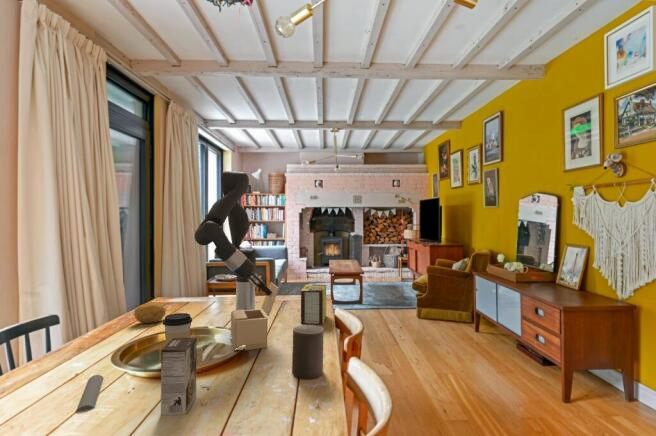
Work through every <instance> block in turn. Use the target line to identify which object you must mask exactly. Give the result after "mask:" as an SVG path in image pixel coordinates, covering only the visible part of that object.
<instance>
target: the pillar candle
mask: <svg viewBox="0 0 656 436" xmlns="http://www.w3.org/2000/svg"><path fill="white" fill-rule="evenodd" d="M324 333H325V332H324V327H322V326H318V325H316V324H301V325H298V326H295V327H293V329H292V358H291V359H292V361H291V372H292V373H291V374H292V375H293V377H294V378H298V379H301V380H312V379H318V378H319V377H322V375H323V373H324Z"/></svg>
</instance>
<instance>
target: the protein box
mask: <svg viewBox="0 0 656 436" xmlns="http://www.w3.org/2000/svg"><path fill="white" fill-rule="evenodd" d="M326 317H327V285H326V284H305V285H304V287H302V288H301V290H300V324H301V325H323V324H324V322H325V319H326Z"/></svg>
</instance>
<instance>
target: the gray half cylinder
mask: <svg viewBox="0 0 656 436" xmlns="http://www.w3.org/2000/svg"><path fill="white" fill-rule="evenodd" d="M103 381H104V377H103V375H100V374H94V375H92V376H90V378H88V380H87V382H86V385H85V388H84V390H83V391H82V392H83V393H82V395H81V397H80V400H79V403H78V405H77V407H76V411H75V412H82V411H86V410H87V411H88V410H92V409H95V408H96V405H97V401H98V398H99V396H100V395H99V394H100V392H101V388H102V385H103Z"/></svg>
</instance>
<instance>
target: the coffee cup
mask: <svg viewBox="0 0 656 436" xmlns="http://www.w3.org/2000/svg"><path fill="white" fill-rule="evenodd" d="M192 322H193V317H191V314H190V313H188V312H187V313H185V312H177V313H170V314H168V315H165V316H164V318H163V319H162V325H163V326H164V336H165V346H166V345H167V344H168V343H169V342H170V341H171V340H172V339H173V338H191V326H192V325H191V324H192Z"/></svg>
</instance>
